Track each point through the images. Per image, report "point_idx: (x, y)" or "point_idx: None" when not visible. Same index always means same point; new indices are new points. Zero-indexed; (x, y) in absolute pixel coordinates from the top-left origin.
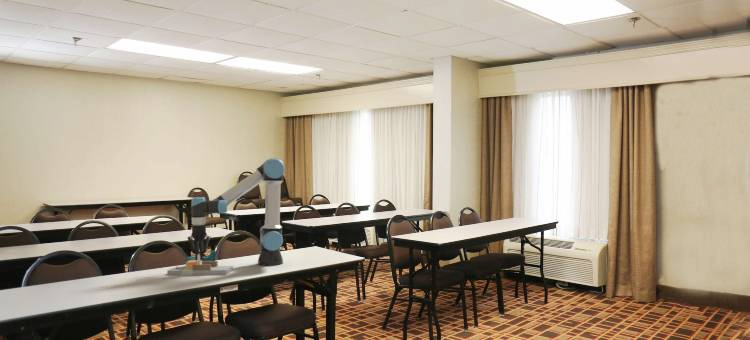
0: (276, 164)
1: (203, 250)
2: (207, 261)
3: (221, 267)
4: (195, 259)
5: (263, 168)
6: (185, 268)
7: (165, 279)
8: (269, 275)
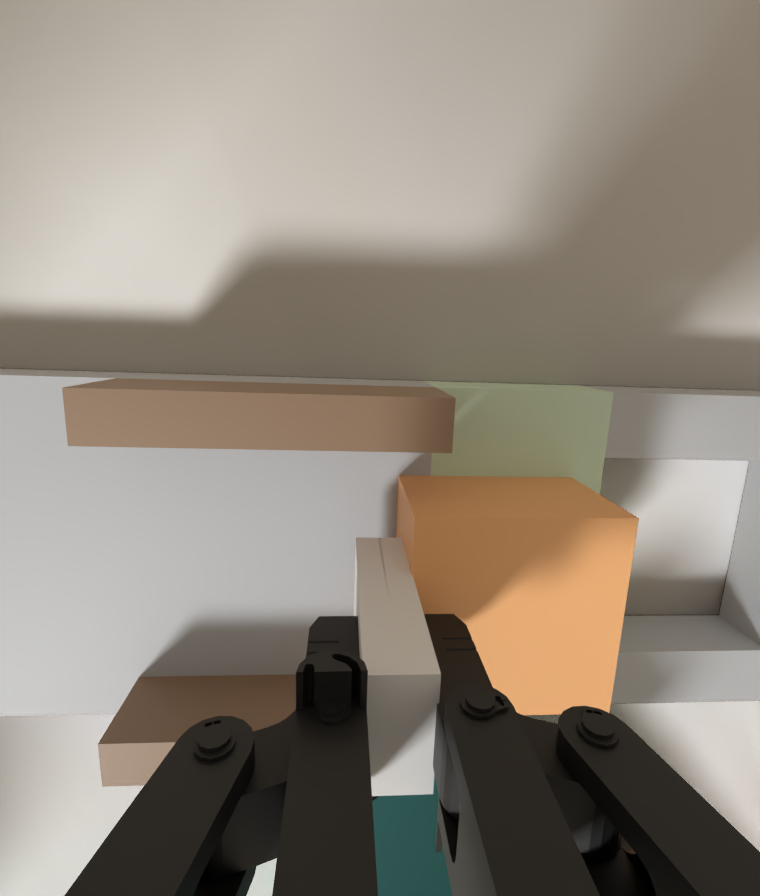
0: None
1: (211, 804)
2: None
3: (18, 608)
4: None
5: None
6: (622, 639)
7: (742, 58)
8: None
